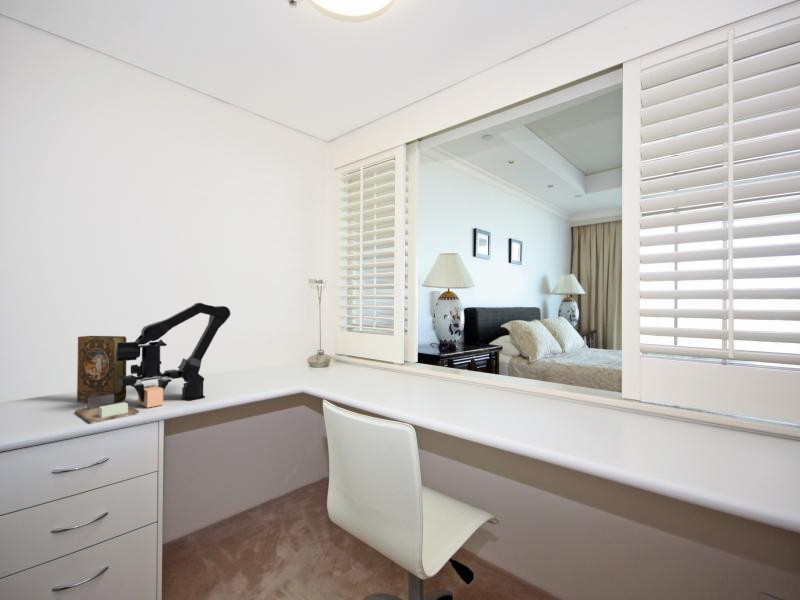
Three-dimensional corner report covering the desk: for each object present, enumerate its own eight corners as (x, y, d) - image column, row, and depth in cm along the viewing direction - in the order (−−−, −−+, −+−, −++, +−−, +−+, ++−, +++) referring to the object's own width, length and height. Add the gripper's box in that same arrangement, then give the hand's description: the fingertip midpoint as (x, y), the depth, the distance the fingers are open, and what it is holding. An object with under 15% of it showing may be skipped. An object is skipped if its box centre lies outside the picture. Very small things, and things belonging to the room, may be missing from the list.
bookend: (111, 403, 132) (112, 392, 132) (114, 405, 130) (114, 393, 130) (87, 408, 126) (87, 396, 126) (89, 409, 125) (89, 398, 125)
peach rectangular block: (153, 400, 139) (153, 385, 139) (163, 404, 133) (163, 388, 133) (138, 403, 135) (138, 387, 135) (147, 407, 129) (147, 391, 129)
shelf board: (121, 404, 134) (121, 401, 134) (138, 413, 123) (138, 410, 123) (75, 412, 124) (75, 410, 124) (90, 423, 113) (90, 420, 113)
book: (74, 402, 136) (74, 337, 137) (88, 398, 142) (88, 335, 142) (113, 404, 135) (114, 337, 135) (126, 400, 140) (126, 336, 140)
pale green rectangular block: (124, 410, 123) (124, 402, 123) (127, 412, 121) (127, 403, 121) (98, 416, 118) (99, 406, 118) (101, 417, 116) (101, 408, 116)
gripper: (169, 353, 146) (169, 392, 146) (113, 359, 132) (112, 402, 131) (181, 356, 140) (181, 396, 140) (123, 362, 125) (123, 407, 125)
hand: (150, 400), depth 134 cm, fingers closed on peach rectangular block, 5 cm apart
